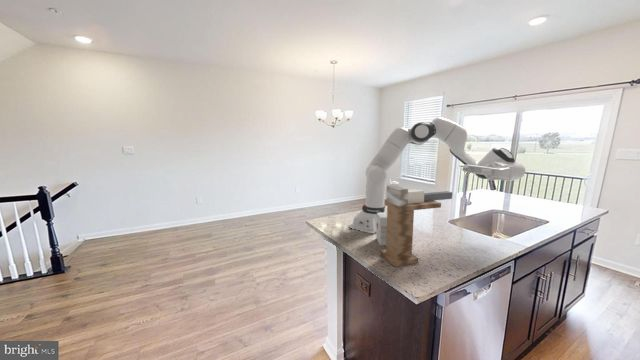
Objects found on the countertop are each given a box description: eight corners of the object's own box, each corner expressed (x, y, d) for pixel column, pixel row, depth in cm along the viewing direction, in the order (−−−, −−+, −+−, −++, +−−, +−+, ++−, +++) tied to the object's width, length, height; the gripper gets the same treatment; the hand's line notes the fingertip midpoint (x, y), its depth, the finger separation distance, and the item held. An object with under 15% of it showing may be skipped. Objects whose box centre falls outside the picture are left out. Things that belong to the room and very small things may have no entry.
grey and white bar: (445, 196, 115) (446, 186, 115) (453, 199, 111) (454, 188, 110) (401, 200, 109) (401, 190, 108) (407, 203, 104) (408, 192, 104)
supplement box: (375, 238, 133) (376, 212, 130) (392, 238, 133) (393, 212, 130) (379, 245, 124) (380, 217, 122) (397, 245, 124) (398, 217, 121)
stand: (419, 248, 120) (423, 182, 115) (437, 259, 109) (442, 187, 104) (379, 254, 114) (381, 185, 109) (394, 266, 103) (396, 190, 98)
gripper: (476, 162, 126) (455, 161, 123) (517, 166, 107) (493, 165, 103) (474, 174, 127) (453, 173, 123) (515, 181, 108) (491, 180, 104)
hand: (472, 170), depth 113 cm, fingers open, 8 cm apart
